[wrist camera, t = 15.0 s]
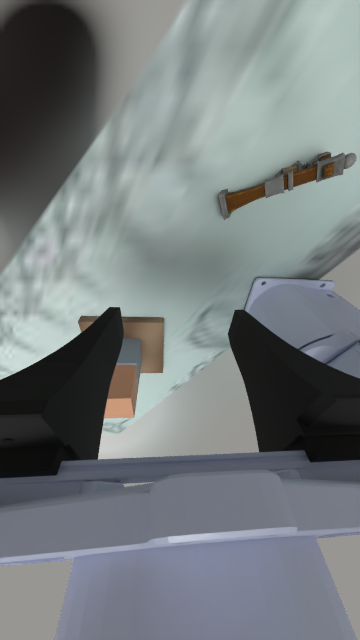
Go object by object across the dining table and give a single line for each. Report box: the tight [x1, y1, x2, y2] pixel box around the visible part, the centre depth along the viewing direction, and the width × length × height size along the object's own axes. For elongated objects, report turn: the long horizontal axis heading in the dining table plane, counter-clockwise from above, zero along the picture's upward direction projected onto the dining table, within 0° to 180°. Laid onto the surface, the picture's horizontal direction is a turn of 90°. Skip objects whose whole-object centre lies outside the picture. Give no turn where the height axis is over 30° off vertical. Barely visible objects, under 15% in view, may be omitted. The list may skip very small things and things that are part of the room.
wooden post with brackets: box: [219, 152, 356, 220], centre depth 14 cm, size 2×8×5 cm, turn 112°
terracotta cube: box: [104, 365, 138, 418], centre depth 21 cm, size 4×4×4 cm
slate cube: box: [116, 338, 142, 384], centre depth 24 cm, size 4×4×4 cm
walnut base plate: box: [78, 316, 163, 373], centre depth 26 cm, size 10×10×1 cm
